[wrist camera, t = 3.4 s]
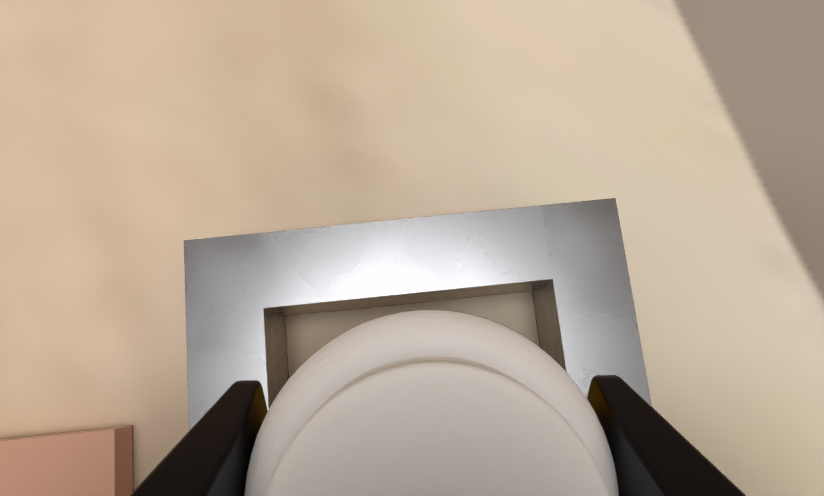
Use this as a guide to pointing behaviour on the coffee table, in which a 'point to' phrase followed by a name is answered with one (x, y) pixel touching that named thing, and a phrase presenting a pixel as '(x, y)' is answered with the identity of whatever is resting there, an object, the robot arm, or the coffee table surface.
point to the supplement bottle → (431, 417)
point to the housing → (412, 287)
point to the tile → (68, 464)
